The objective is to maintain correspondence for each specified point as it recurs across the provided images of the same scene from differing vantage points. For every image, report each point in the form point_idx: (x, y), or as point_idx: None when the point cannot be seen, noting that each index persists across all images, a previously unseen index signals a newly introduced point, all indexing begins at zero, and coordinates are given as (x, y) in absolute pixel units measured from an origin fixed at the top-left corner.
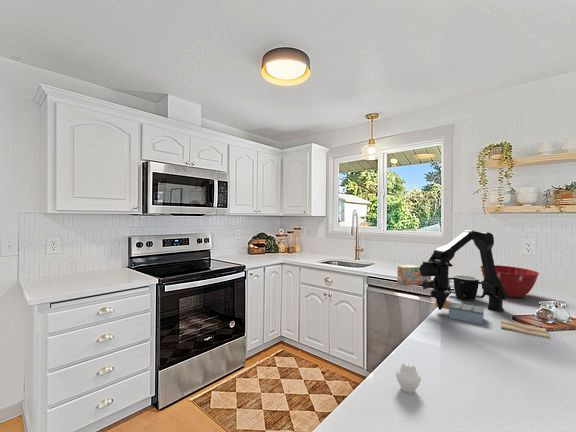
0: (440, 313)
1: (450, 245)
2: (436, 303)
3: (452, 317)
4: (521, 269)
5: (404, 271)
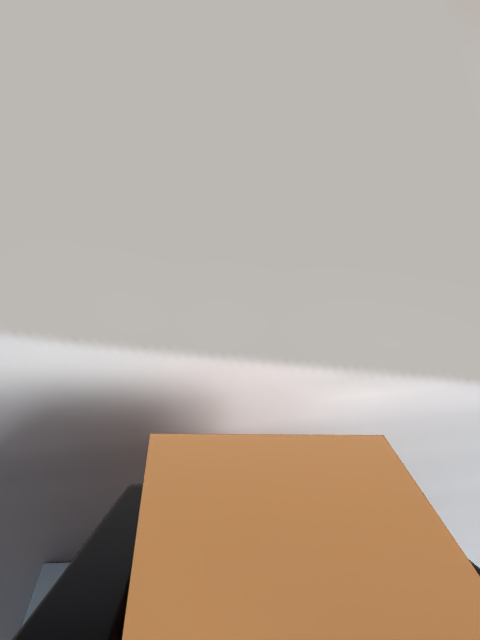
0: (223, 430)
1: None
2: (134, 565)
3: None
4: None
5: None
